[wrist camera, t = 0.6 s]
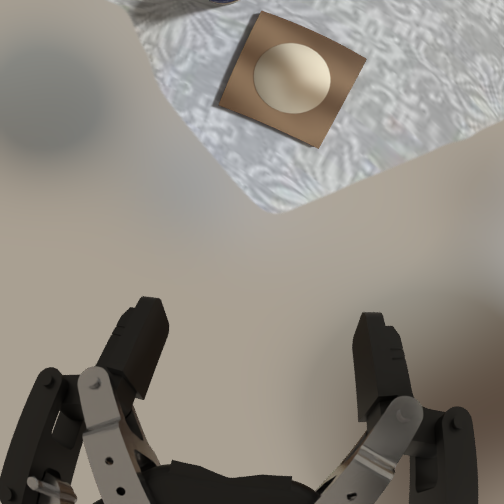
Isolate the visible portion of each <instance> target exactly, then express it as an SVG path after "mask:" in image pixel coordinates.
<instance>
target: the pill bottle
mask: <svg viewBox="0 0 504 504" xmlns="http://www.w3.org/2000/svg"><path fill="white" fill-rule="evenodd" d="M209 1H211V2H213V3H216V4H221V5H227V4H232V3H235V2H238V1H240V0H209Z"/></svg>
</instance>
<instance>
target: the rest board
mask: <svg viewBox="0 0 504 504" xmlns="http://www.w3.org/2000/svg"><path fill="white" fill-rule="evenodd" d="M366 60H367V59H366V58H364V57H362V56H361V55H359V54H357V53H355V52H354V51H352V50H350V49H348V48H346V47H344V46H343V45H341V44H339V43H337V42H335V41H333V40H331V39H329V38H327V37H325V36H323V35H320V34H318V33H316V32H314V31H312V30H310V29H307V28H305V27H303V26H300V25H298V24H296V23H293V22H291V21H288V20H286V19H283V18H280V17H278V16H275V15H272V14H269V13H267V12H264V11H261V13H260V15H259V17H258V19H257V21H256V23H255V25H254V27H253V29H252V31H251V33H250V35H249V37H248V39H247V41H246V43H245V45H244V48H243V50H242V52H241V54H240V56H239V58H238V61H237V63H236V65H235V67H234V70H233V72H232V74H231V76H230V79H229V81H228V83H227V86H226V88H225V90H224V93H223V95H222V98H221V100H220V102H219V106H222V107H225V108H227V109H230V110H232V111H235V112H238V113H240V114H243V115H245V116H248V117H250V118H252V119H255V120H257V121H260V122H262V123H264V124H267V125H269V126H271V127H274V128H276V129H278V130H280V131H282V132H285V133H287V134H289V135H291V136H293V137H295V138H298V139H300V140H302V141H304V142H306V143H308V144H310V145H312V146H314V147H316V148H318V149H319V147H320V145H321V144H322V142H323V140H324V138H325V136H326V134H327V132H328V131H329V129H330V127H331V125H332V123H333V121H334V119H335V118H336V116H337V114H338V112H339V110H340V108H341V106H342V105H343V103H344V101H345V99H346V97H347V95H348V93H349V92H350V90H351V88H352V86H353V84H354V82H355V80H356V78H357V77H358V75H359V73H360V71H361V69H362V67H363V65H364V63H365V62H366Z"/></svg>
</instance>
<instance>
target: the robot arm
mask: <svg viewBox="0 0 504 504" xmlns="http://www.w3.org/2000/svg"><path fill="white" fill-rule="evenodd" d="M168 333H169V322H168V320H167V316H166V313H165V311H164V307H163V305H162V302H161V300H160V299H159V298H153V297H144V296H143V297H141V298H140V300H139V301H138V303H137V305H136V307H135V308H133V307H130V308H129V309H128V310H127V311H126V312H125V313H124V314H123V315H122V316H121V318H120V319H119V321H118V323H117V327H116V328H115V329H114V331H113V333H112V335H111V337H110V339H109V340H108V342H107V345H106V346H105V348H104V350H103V352H102V354H101V356H100V358H99V360H98V362H97V364H96V366H94V367H90V368H87V369H86V370H85V371H83V372H82V373H81V375H62V374H61V373H60V372H59V371H58V369H56V368H53V367H49V368H46V369H44V370H43V371H42V372H40V374H39V375H38V377H37V379H36V381H35V383H34V385H33V388H32V390H31V392H30V395H29V397H28V399H27V402H26V404H25V406H24V409H23V411H22V414H21V416H20V419H19V421H18V424H17V427H16V429H15V432H14V435H13V438H12V440H11V444H10V447H9V450H8V453H7V456H6V459H5V462H4V466H3V469H2V473H1V476H0V501H1V503H2V504H75V502H76V501H77V496H76V494H75V493H74V491H73V489H72V487H71V482H72V478H73V473H74V470H75V466H76V463H77V459H78V456H79V452H80V449H81V446H82V443H83V442H84V446H85V449H86V453H87V456H88V459H89V463H90V466H91V469H92V472H93V475H94V478H95V481H96V484H97V486H98V489H99V492H100V495H101V497H102V499H100V500H98V501H96V502H95V503H93V504H374V503H375V502H376V500H377V499H378V498H379V496H380V495H381V493H382V492H383V491H384V490H385V488H386V486H387V485H388V484H389V482H390V481H391V479H392V478H393V476H394V473H395V470H394V469H395V466H396V465H397V463H398V462H399V460H400V458H401V457H402V455H403V454H404V455H409V456H410V493H409V504H478V475H477V474H478V472H477V458H476V447H475V438H474V431H473V424H472V419H471V416H470V414H469V412H468V411H467V410H466V409H464V408H462V407H452V408H450V409H449V410H448V411H446V412H442V411H436V410H431V409H427V408H425V407H423V406H421V404H420V403H419V402H418V401H417V400H416V399H415V398H414V397H413V393H412V389H411V384H410V379H409V374H408V369H407V364H406V360H405V355H404V351H403V347H402V342H401V338H400V336H399V334H398V333H397V331H396V330H395V329H394V327H393V326H385V322H384V318H383V315H382V313H378V312H377V313H375V312H364V313H362V315H361V317H360V320H359V323H358V326H357V329H356V331H355V334H354V337H353V344H352V350H353V360H354V370H355V381H356V392H357V406H358V407H357V408H358V422H367V430H366V431H365V433H364V434H363V435H362V437H361V438H360V440H359V441H358V442H357V444H356V445H355V446H354V447H353V449H352V450H351V451H350V453H349V454H348V455H347V456H346V458H345V459H344V460H343V461H342V463H341V464H340V465H339V466H338V467H337V468H336V469H335V470H334V471H333V472H332V473H331V474H330V475H329V476H328V478H327V479H326V480H325V481H324V482H323V483H322V484H321V485H320V486H319V488H317V489H316V491H314V490H313V489H311V488H310V487H308V486H306V485H304V484H302V483H299V482H296V481H293V480H292V476H272V475H255V476H246V477H237V478H228V477H225V476H222V475H220V474H217V473H215V472H212V471H210V470H208V469H205V468H203V467H201V466H197V465H192V464H188V463H183V462H179V461H174V460H172V462H171V464H167V465H160V463H159V460H158V459H157V456H156V454H155V453H154V451H153V450H152V448H151V447H150V446H149V444H148V442H147V439H146V437H145V435H144V432H143V430H142V427H141V424H140V422H139V420H138V417H137V414H136V411H135V408H134V406H133V402H134V399H135V398H138V399H142V400H144V399H145V396H146V393H147V390H148V388H149V385H150V382H151V379H152V377H153V374H154V371H155V368H156V366H157V363H158V360H159V358H160V355H161V352H162V350H163V347H164V345H165V342H166V339H167V337H168ZM59 411H60V413H59ZM58 413H59V416H58V419H57V421H56V418H57V415H58ZM55 421H56V424H55V427H54V430H53V433H52V429H53V426H54V423H55Z"/></svg>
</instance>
